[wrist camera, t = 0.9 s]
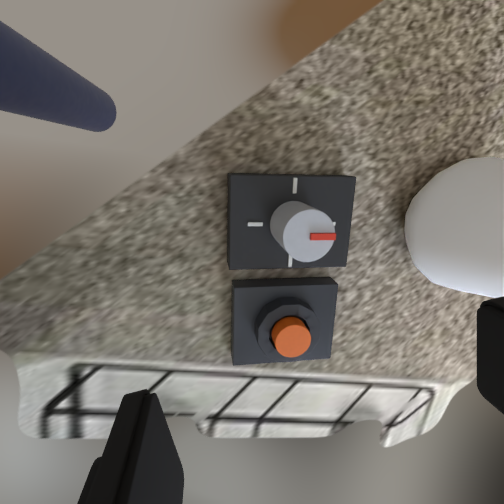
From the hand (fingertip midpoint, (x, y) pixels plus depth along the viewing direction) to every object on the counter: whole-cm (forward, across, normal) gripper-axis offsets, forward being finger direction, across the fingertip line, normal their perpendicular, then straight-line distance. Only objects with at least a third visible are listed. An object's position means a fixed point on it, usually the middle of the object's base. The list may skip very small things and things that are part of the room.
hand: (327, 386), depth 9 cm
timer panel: (+25, -5, +1) cm, 25 cm away
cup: (+26, -22, +5) cm, 34 cm away
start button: (+22, -2, +11) cm, 24 cm away
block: (+25, -2, +11) cm, 28 cm away
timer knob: (+22, -5, +1) cm, 23 cm away
